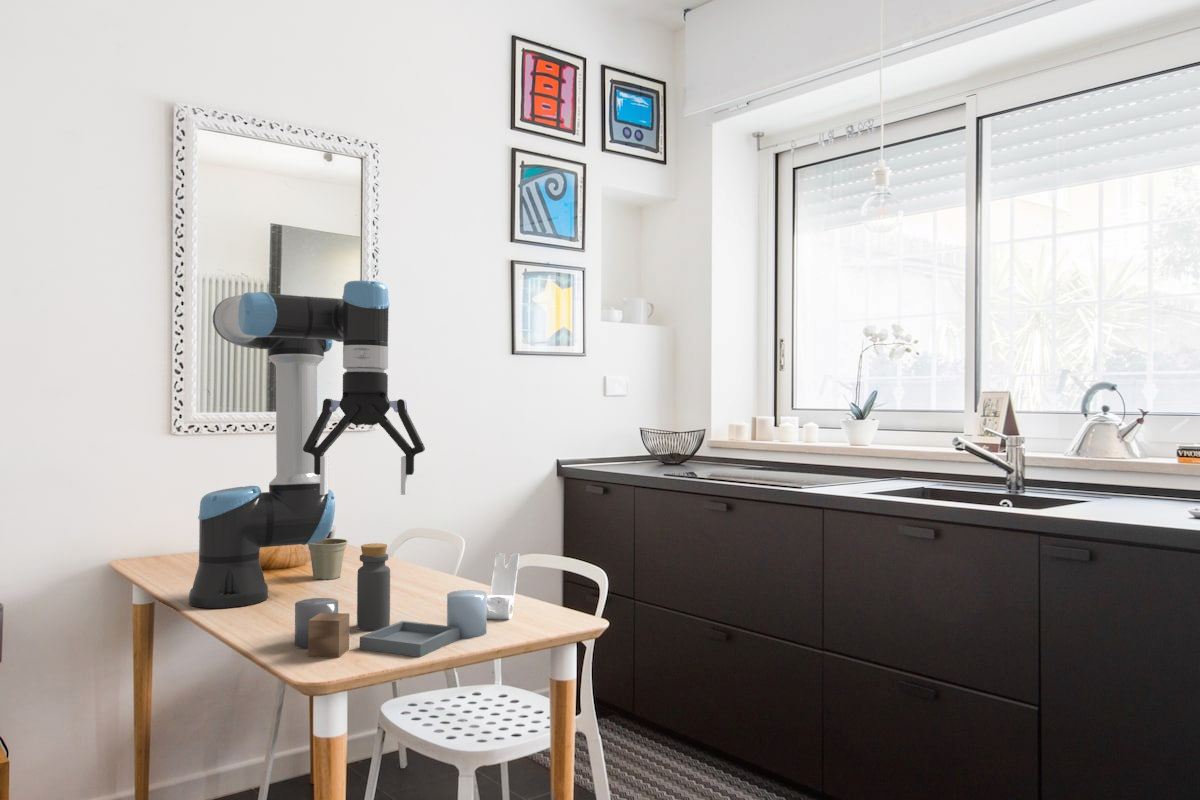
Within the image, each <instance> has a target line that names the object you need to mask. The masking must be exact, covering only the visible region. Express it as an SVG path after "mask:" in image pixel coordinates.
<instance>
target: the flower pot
mask: <svg viewBox="0 0 1200 800" xmlns="http://www.w3.org/2000/svg"><path fill="white" fill-rule="evenodd" d="M348 543H349V540H348V539H343V538H326V539H325V540H323V541H321V542H317V543H309V544H307V545H308V550H309V553H310V554H309V555H310V562H311V569H312V577H313V579H315V580H320V579H321V580H323V581H324V580H326V579H329V580H335V579H338V578H340V577H341V575H342V567H343V561H344V557H345V556H344V555H345V549H346V548H347V544H348ZM326 581H327V580H326Z"/></svg>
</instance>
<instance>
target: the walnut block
mask: <svg viewBox="0 0 1200 800" xmlns="http://www.w3.org/2000/svg"><path fill="white" fill-rule="evenodd" d="M349 650H350V613H343V612H342V613H341V612H338V613H319V614H318V615H316V616H315V617H313V618H311V619H310V620H309V627H308V649H307V654H308V656H307V658H312V659H313V658H318V659H319V658H321V659H322V658H325V659H326V658H329V659H340V658H342V657H341V656H343V655H345V654H346V653H347V652H348V651H349Z"/></svg>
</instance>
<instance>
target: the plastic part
mask: <svg viewBox="0 0 1200 800" xmlns="http://www.w3.org/2000/svg"><path fill="white" fill-rule="evenodd" d="M494 553H495V555H494V562H493V567H494V569H493V571H492V576H491V582H490V591H489V594H487V620H488V619H489V620H510V619H512V618H513V613H514V606H515V597H516V589H517V579H518V573H519V562H520V552H516V551H515V552H514V553H511V554H510V556H509V559H508V564H507V566H506V554H505V553H503V552H502V553H500V552H499V551H495V552H494Z"/></svg>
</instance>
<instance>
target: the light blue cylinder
mask: <svg viewBox="0 0 1200 800" xmlns="http://www.w3.org/2000/svg"><path fill="white" fill-rule="evenodd" d="M487 595H488V594H487V592H486V591H484V590H483V591H482V590H476V589H460V590H455V591H450V592H448V593H447V595H446V626H453V627H460V639H472V638H478V637H482V636H485V635H486V634H487V630H488V629H487V621H488V619H487Z"/></svg>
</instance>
